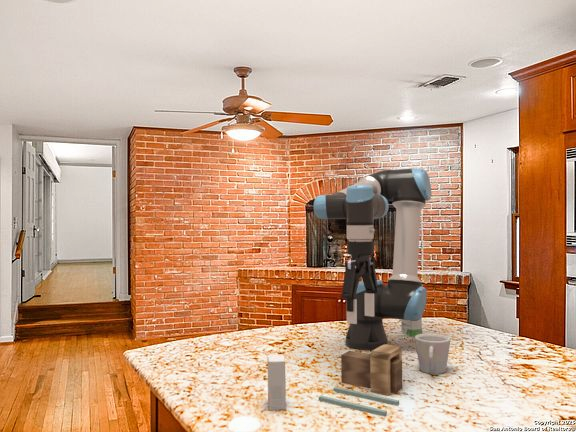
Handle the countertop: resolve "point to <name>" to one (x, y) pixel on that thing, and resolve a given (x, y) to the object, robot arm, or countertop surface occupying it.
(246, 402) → the countertop surface
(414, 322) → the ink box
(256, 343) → the countertop surface
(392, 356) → the wooden arch block
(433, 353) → the mug
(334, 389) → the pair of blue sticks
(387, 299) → the robot arm
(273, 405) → the skincare box
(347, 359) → the brown wooden block
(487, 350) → the countertop surface
